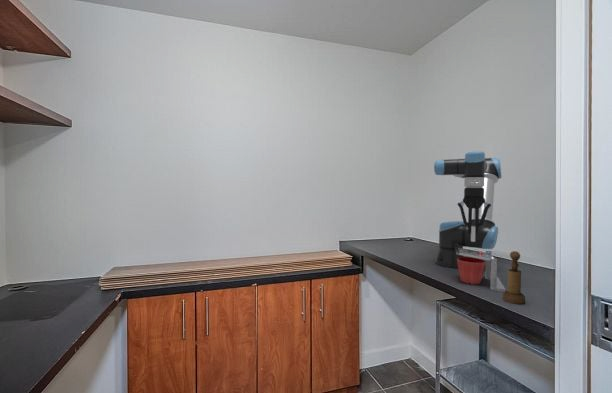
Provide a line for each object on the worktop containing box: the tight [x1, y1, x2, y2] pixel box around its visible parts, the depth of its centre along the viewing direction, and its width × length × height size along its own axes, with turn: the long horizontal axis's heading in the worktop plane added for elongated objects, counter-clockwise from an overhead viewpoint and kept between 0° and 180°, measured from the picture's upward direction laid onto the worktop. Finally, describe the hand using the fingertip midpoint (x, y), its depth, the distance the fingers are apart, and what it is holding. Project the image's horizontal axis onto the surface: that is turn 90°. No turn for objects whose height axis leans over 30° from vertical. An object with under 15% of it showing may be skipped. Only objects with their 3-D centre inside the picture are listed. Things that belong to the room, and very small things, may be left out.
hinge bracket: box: [484, 250, 507, 293], centre depth 126 cm, size 19×5×12 cm, turn 155°
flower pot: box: [457, 256, 486, 285], centre depth 130 cm, size 11×11×10 cm
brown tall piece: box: [502, 250, 526, 305], centre depth 107 cm, size 7×6×18 cm
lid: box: [456, 247, 495, 261], centre depth 129 cm, size 13×14×2 cm
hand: (472, 241), depth 130 cm, fingers closed
